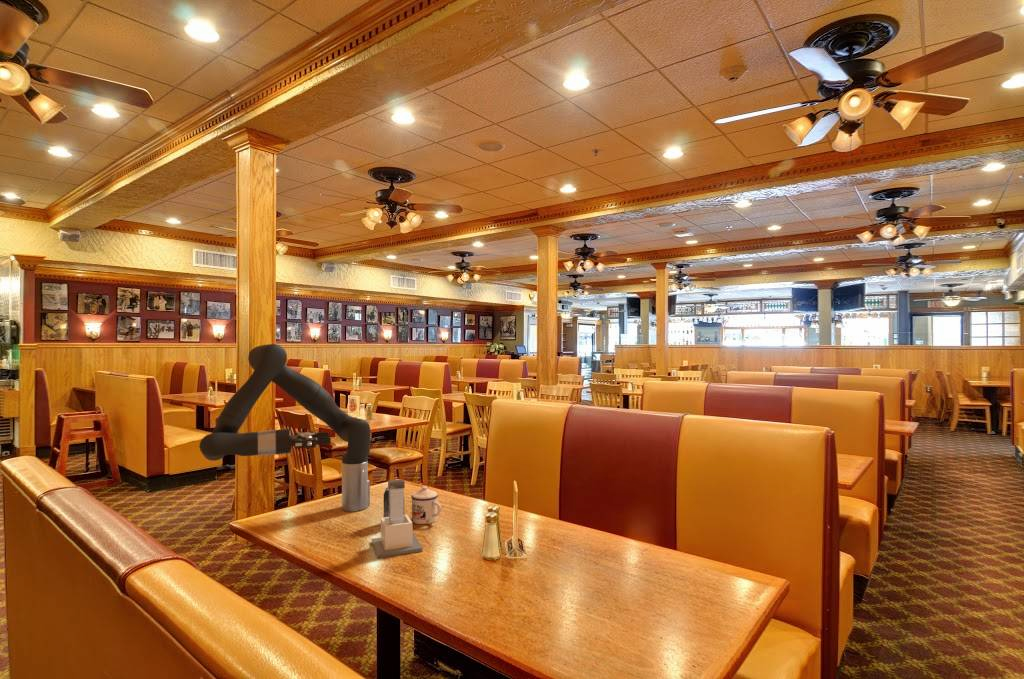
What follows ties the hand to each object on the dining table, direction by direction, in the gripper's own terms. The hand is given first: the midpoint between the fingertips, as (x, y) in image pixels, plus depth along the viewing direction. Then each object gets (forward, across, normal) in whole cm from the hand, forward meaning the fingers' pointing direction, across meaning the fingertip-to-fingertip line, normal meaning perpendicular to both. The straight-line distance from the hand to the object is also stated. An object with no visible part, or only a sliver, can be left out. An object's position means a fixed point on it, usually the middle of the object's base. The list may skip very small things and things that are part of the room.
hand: (329, 437), depth 174 cm
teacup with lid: (+32, 0, +32) cm, 45 cm away
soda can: (+21, +2, +32) cm, 38 cm away
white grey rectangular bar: (+18, -18, +29) cm, 39 cm away
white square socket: (+18, -18, +31) cm, 40 cm away
